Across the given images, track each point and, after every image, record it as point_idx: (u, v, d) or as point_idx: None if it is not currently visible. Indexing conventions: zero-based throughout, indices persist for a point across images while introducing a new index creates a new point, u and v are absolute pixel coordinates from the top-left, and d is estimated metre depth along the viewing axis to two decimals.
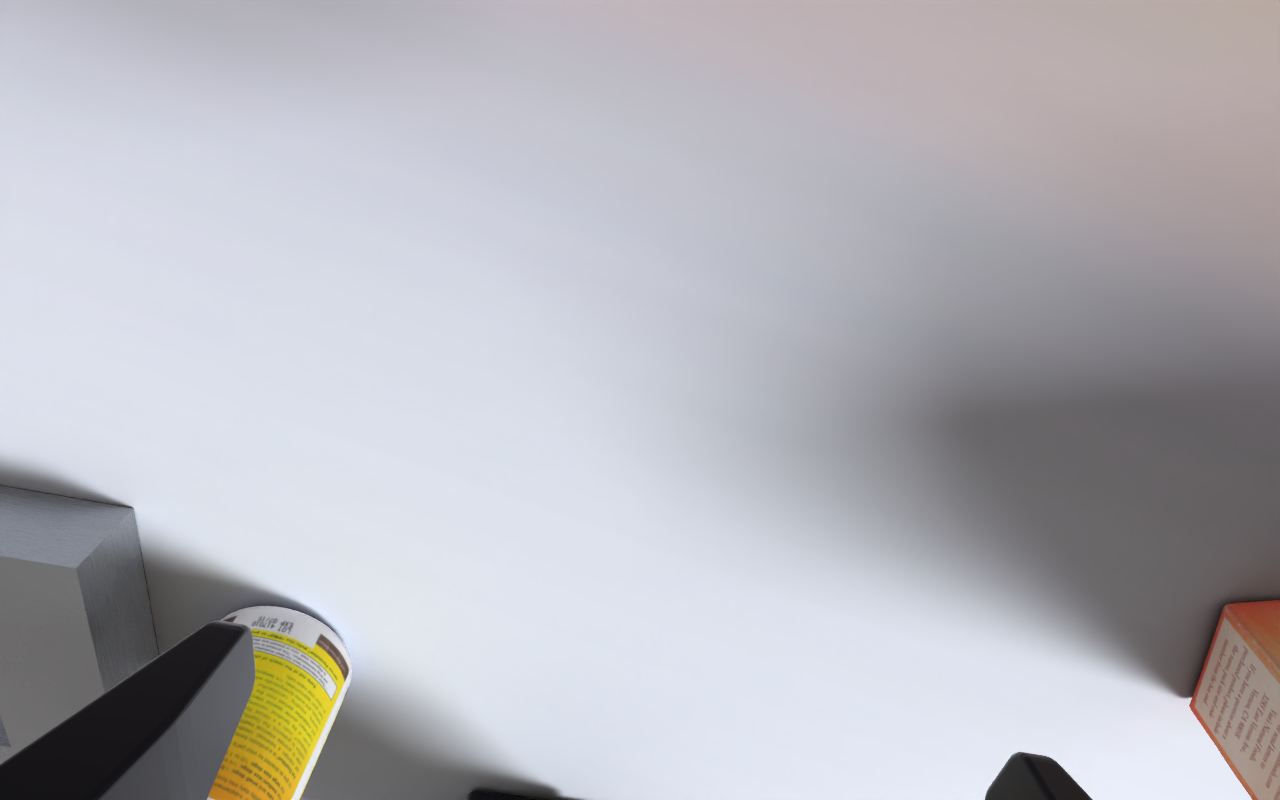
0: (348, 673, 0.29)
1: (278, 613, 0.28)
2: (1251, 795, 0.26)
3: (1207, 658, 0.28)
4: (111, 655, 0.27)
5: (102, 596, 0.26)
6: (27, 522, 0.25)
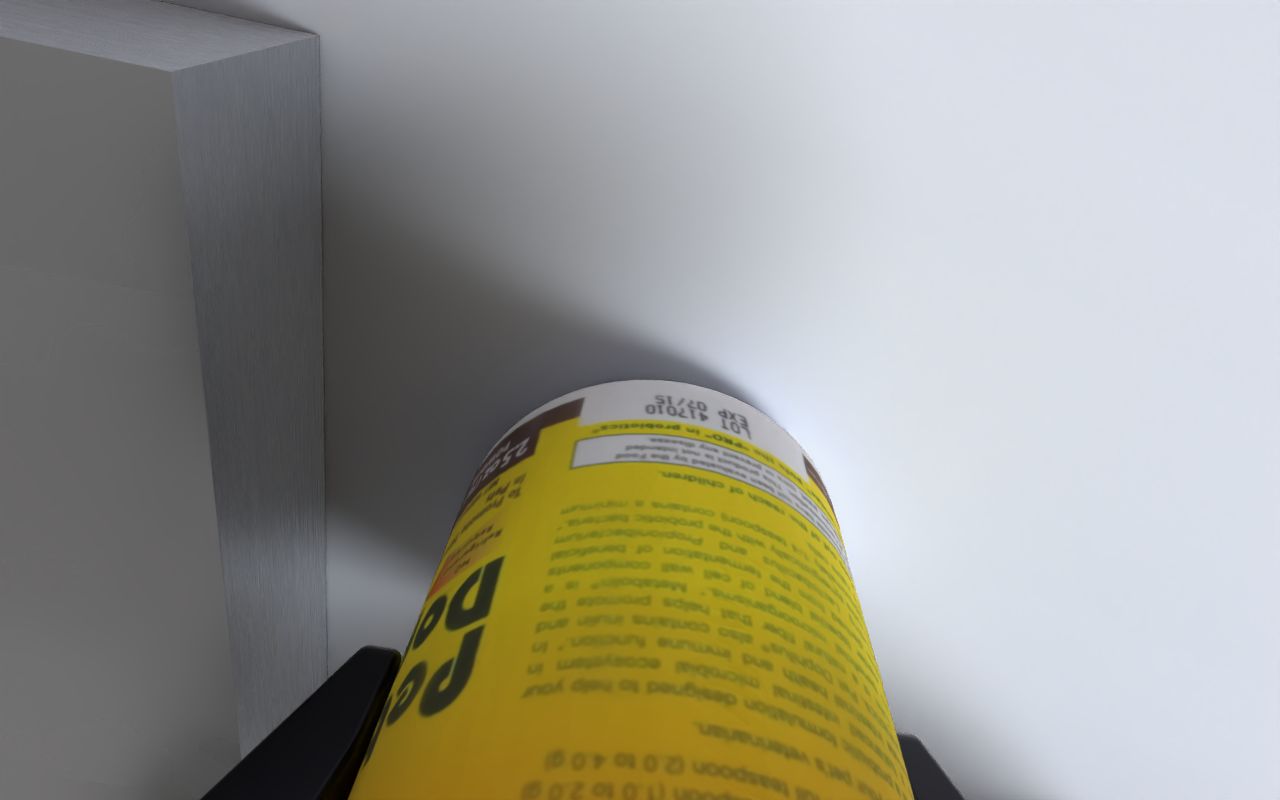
0: None
1: (696, 392, 0.10)
2: None
3: None
4: (247, 493, 0.09)
5: (238, 273, 0.08)
6: None
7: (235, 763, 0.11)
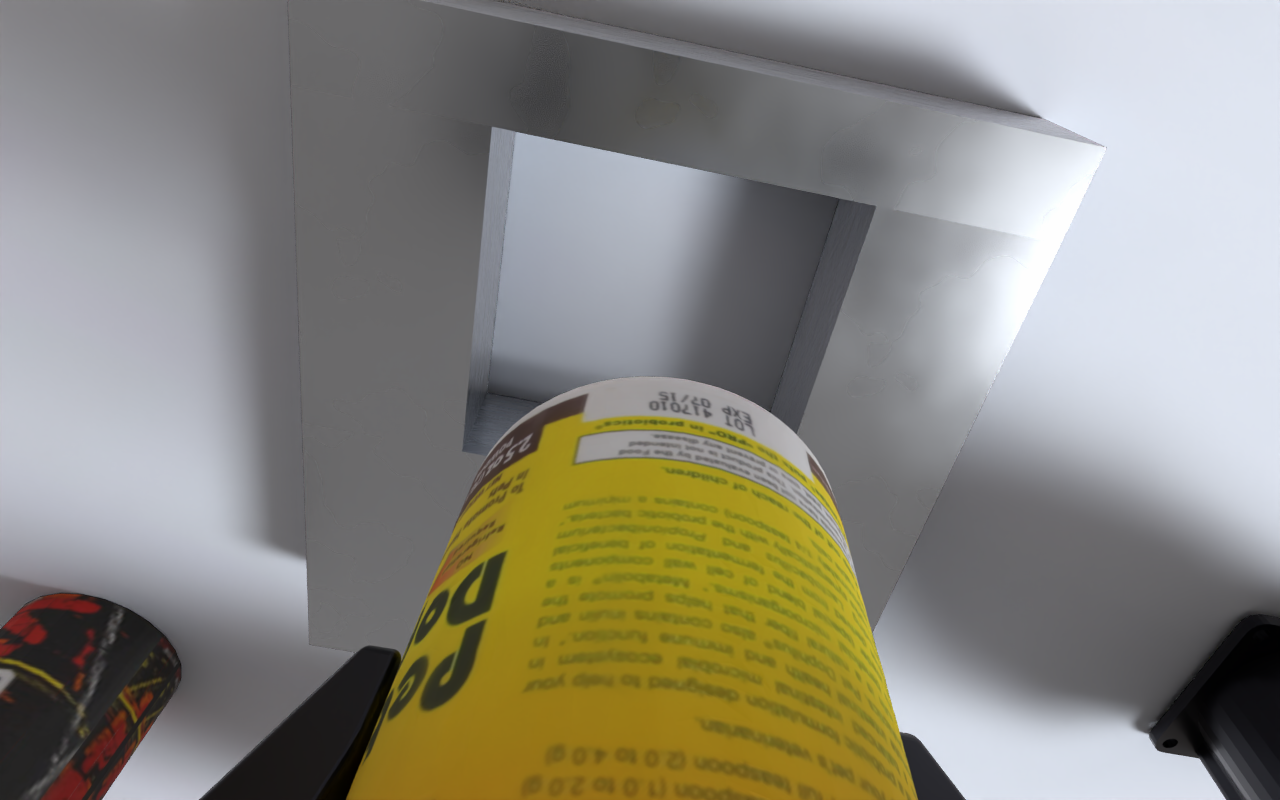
0: None
1: (700, 389, 0.10)
2: None
3: None
4: None
5: None
6: (958, 107, 0.16)
7: (930, 505, 0.20)
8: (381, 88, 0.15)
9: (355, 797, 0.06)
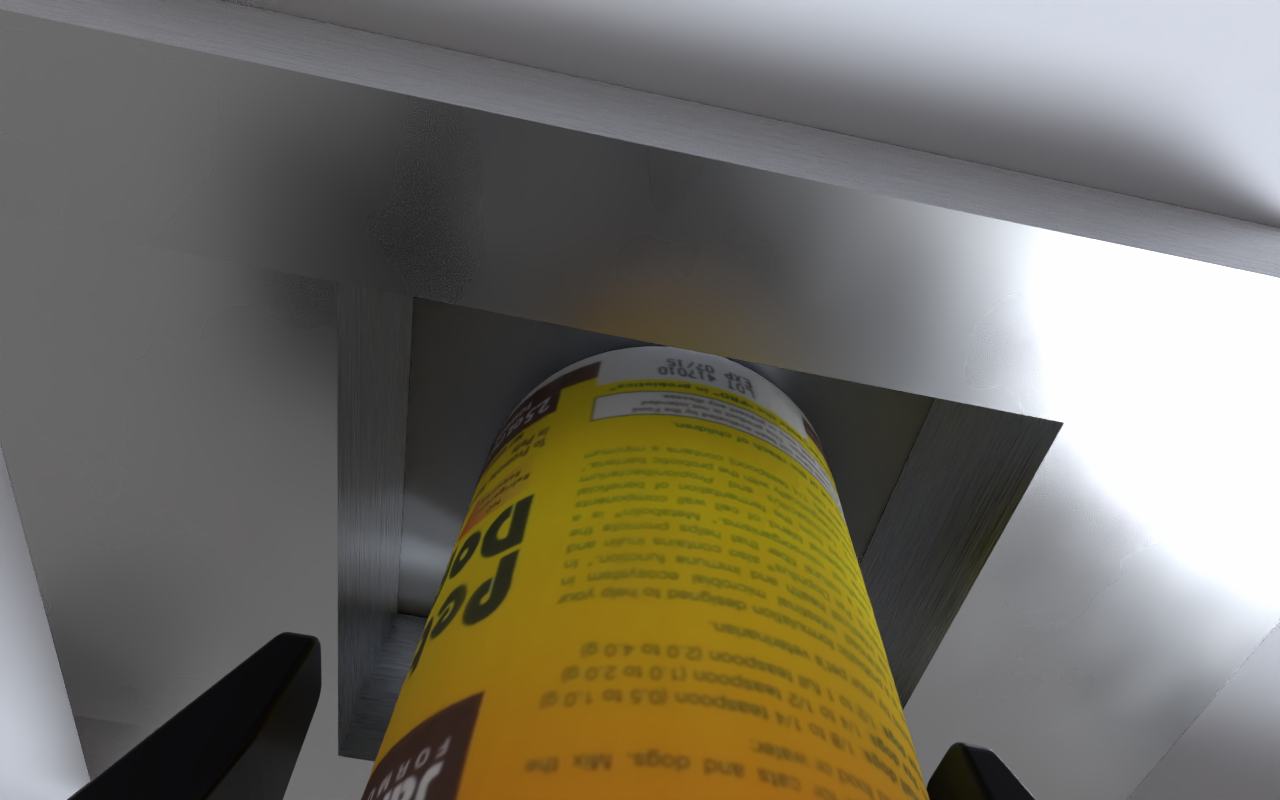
0: None
1: (704, 357, 0.11)
2: None
3: None
4: None
5: None
6: (1205, 232, 0.09)
7: None
8: (114, 212, 0.08)
9: (406, 701, 0.07)
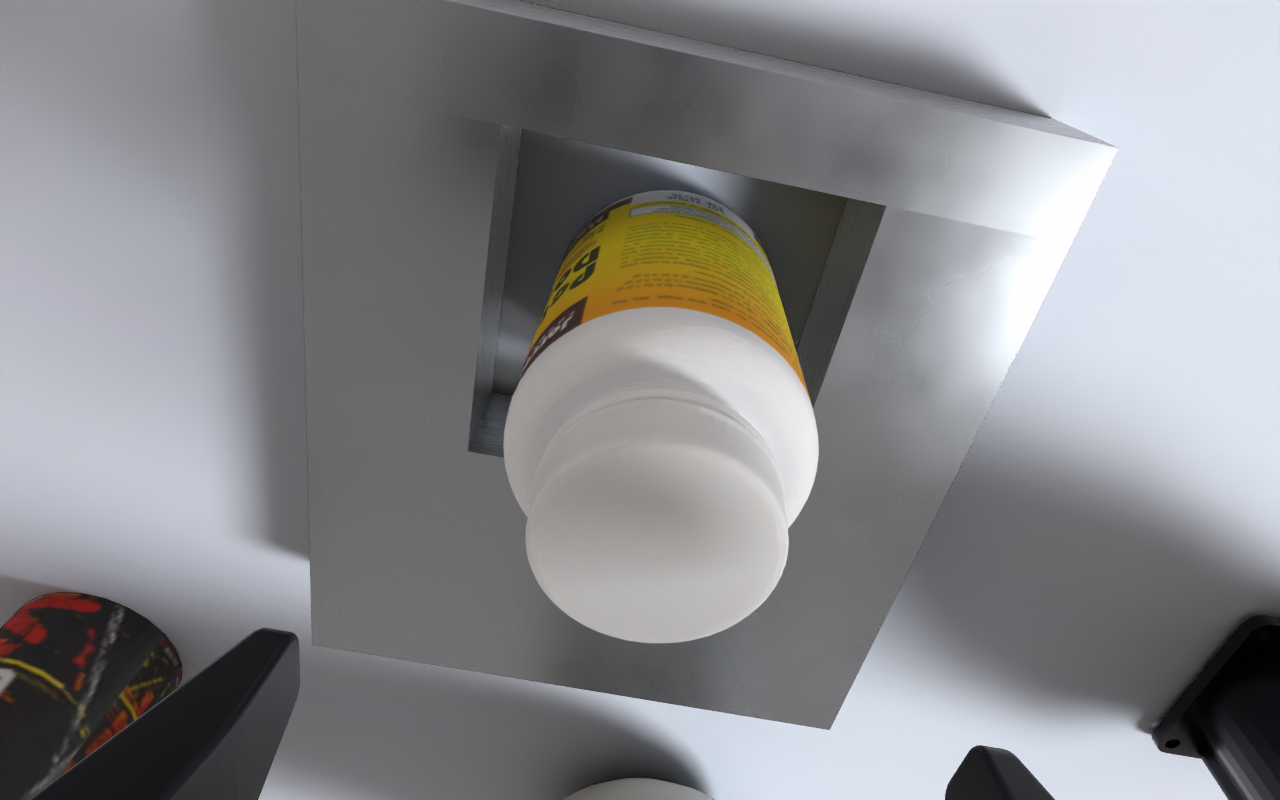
0: None
1: (694, 195, 0.18)
2: None
3: None
4: None
5: None
6: (969, 107, 0.16)
7: (937, 505, 0.20)
8: (389, 85, 0.15)
9: (543, 324, 0.15)
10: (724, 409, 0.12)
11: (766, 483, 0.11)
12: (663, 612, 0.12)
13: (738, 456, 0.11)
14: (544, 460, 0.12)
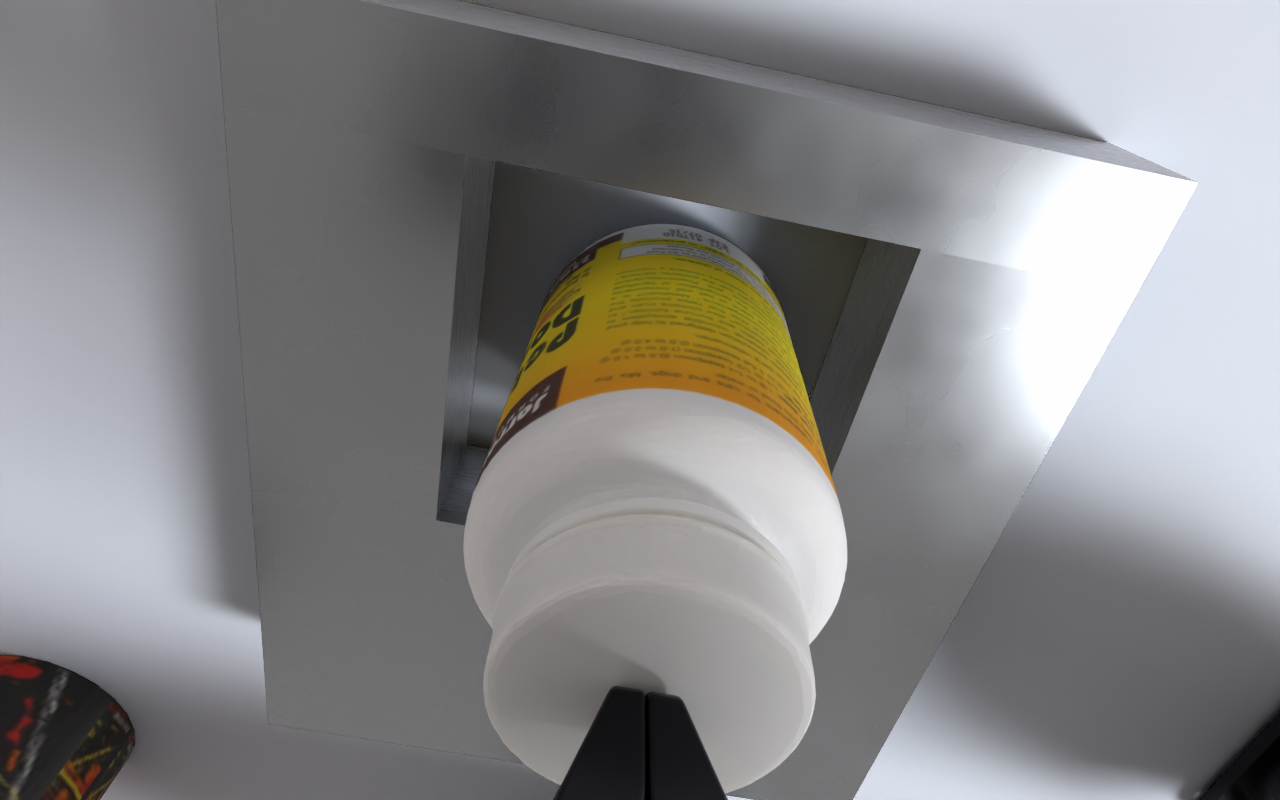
0: None
1: (695, 230, 0.16)
2: None
3: None
4: None
5: None
6: (1016, 131, 0.14)
7: (971, 580, 0.17)
8: (332, 109, 0.13)
9: (514, 395, 0.12)
10: (734, 523, 0.09)
11: (788, 627, 0.09)
12: None
13: (752, 597, 0.08)
14: (508, 586, 0.09)
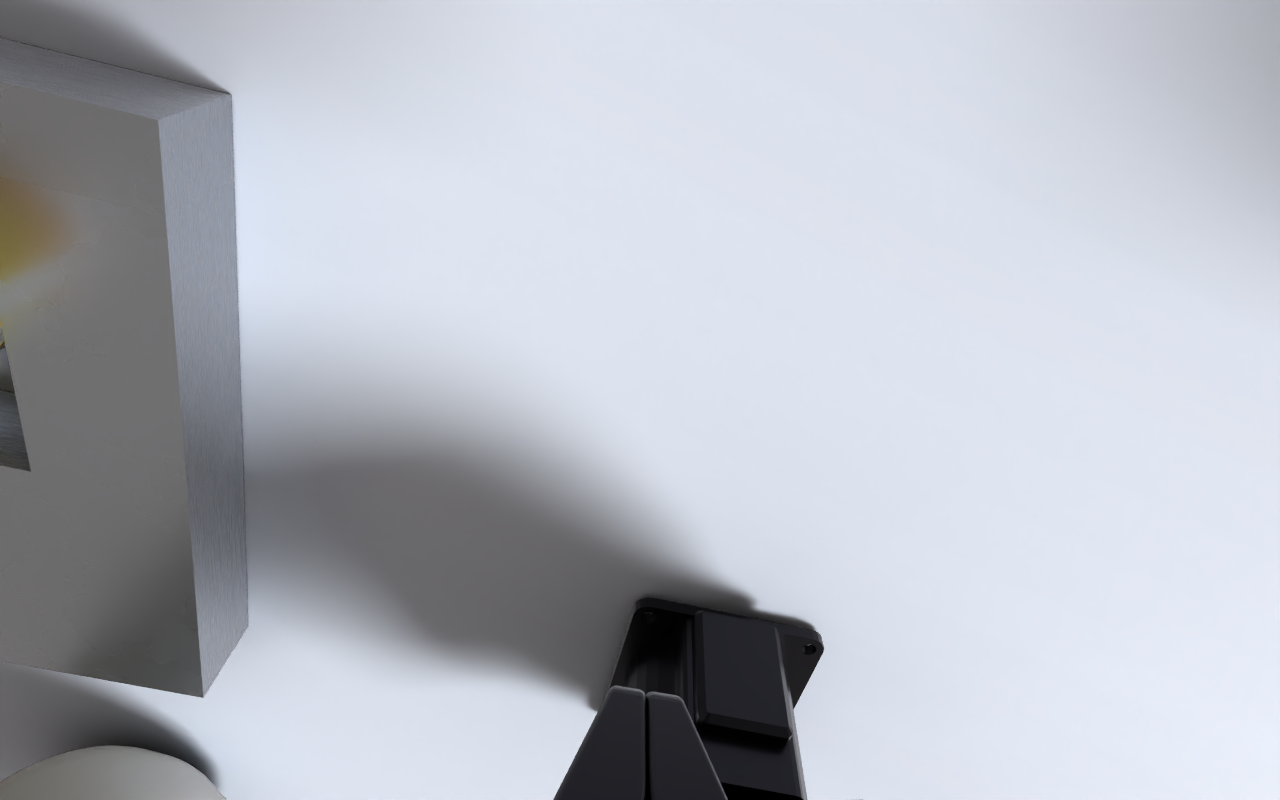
0: None
1: None
2: None
3: None
4: (190, 318, 0.19)
5: (186, 206, 0.17)
6: (77, 76, 0.17)
7: (182, 474, 0.20)
8: None
9: None
10: None
11: None
12: None
13: None
14: None
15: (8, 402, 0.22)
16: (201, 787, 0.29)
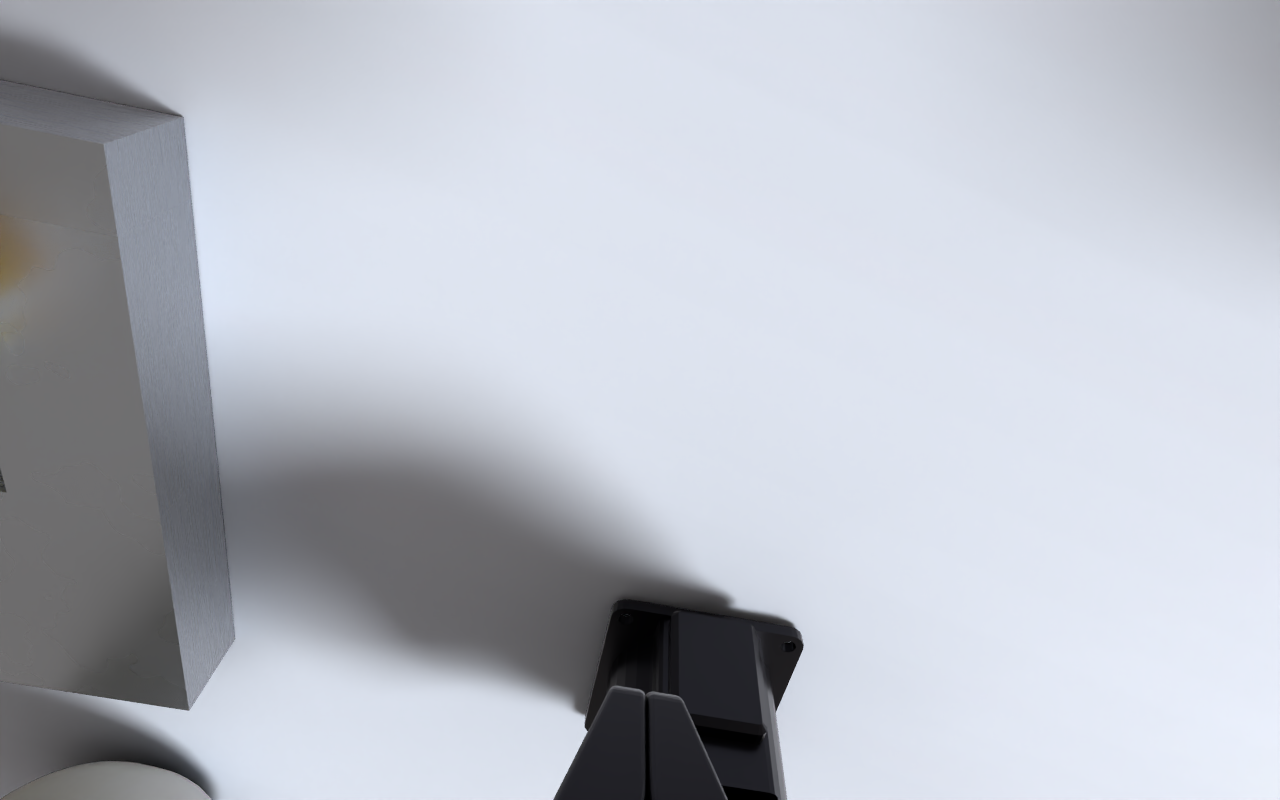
0: None
1: None
2: None
3: None
4: (151, 337, 0.19)
5: (140, 227, 0.18)
6: (30, 105, 0.17)
7: (152, 490, 0.20)
8: None
9: None
10: None
11: None
12: None
13: None
14: None
15: None
16: None
